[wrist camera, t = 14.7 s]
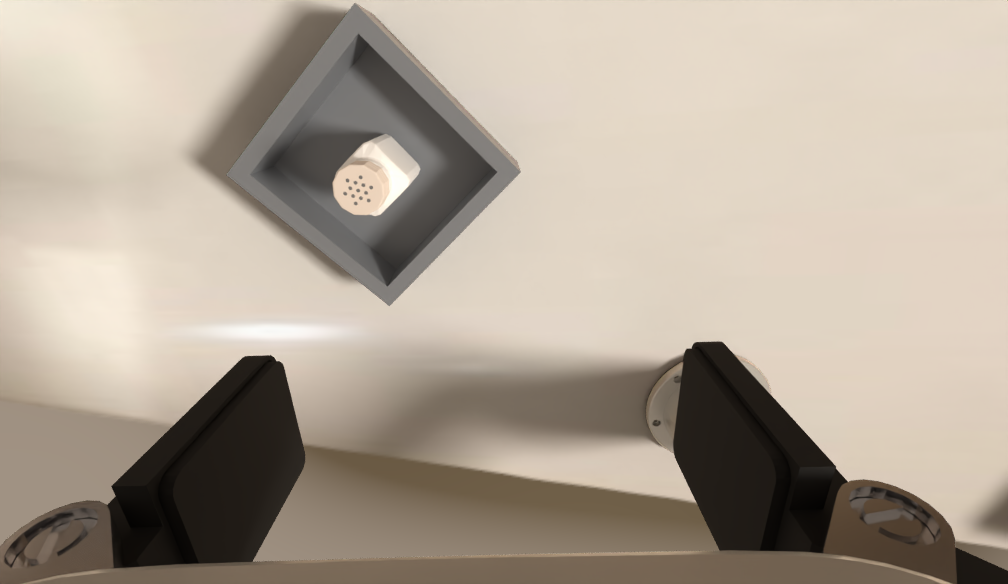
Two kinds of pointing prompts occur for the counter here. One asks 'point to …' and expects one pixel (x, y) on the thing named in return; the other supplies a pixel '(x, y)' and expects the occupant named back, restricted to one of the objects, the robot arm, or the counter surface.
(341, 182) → the pepper shaker
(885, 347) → the counter surface
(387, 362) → the counter surface
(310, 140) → the bin
